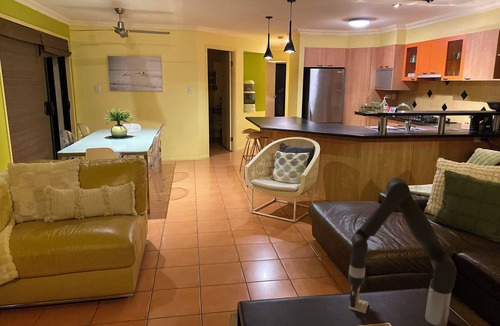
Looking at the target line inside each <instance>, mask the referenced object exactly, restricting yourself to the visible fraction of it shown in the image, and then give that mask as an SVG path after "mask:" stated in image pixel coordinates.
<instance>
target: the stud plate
mask: <svg viewBox="0 0 500 326" xmlns="http://www.w3.org/2000/svg"><path fill="white" fill-rule="evenodd" d="M368 305H369V302H368V301H366V300H363V299H362V300H361V299H359V304H358V307H357V308H353V307H351V306H349V305H348V310H353V311H357V312H359V313H363V314H366V313H367V309H368Z"/></svg>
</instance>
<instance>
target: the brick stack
mask: <svg viewBox="0 0 500 326" xmlns="http://www.w3.org/2000/svg"><path fill="white" fill-rule="evenodd" d="M360 295H361V294H360V292H359V293H358V296H357V297H356V303H355V308H357V307H358V304H359V300H360ZM350 304H351V301H350V300H349V302H348V307H349V306H350Z"/></svg>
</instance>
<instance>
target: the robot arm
mask: <svg viewBox="0 0 500 326" xmlns="http://www.w3.org/2000/svg"><path fill="white" fill-rule="evenodd" d="M386 192H387V194H386V196H385V197H384V200H383V201H382V203H380V205H379V206H378V207H377V208H376V209H375V210H373V212H371V213H370V214H369V216H368V217H367V218H366V220H365V221H364V223H363V224H362V226H360V227H359V228H358V229H357V230H356V231H355V232H354V234H353V235H352V236H351V237H352V238H351V245H352V247H351V248H352V251H351V255H350V260H349V261H350V262H349V267H348V282H349V283H350V284H351V286H350V291H349V294H350V295H349V301H351V304H350V306H351V307H353V308H355V303H356V297H357V296H358V293H360V290H361V286H363V285H364V283H365V276H366V257H367V254H368V249H369V247H368V246H369V245H368V240H369V238H371V237H374V236H375V235H376V234H377V233H378V232H379V230H380V229H381V227H382V226H383V225H384V223H386V220H388V218H389V217H390V216H391V215H392V214H393V213H394V211H395V210H396V209H397V208H399V209H400V211H401V212H400V213H401V214H402V217H403V218H404V221H405V224H406V225H407V227H408V229H409V230H410V232H411V234H412V236H413V237H414V239H415V240H416V241H417V242H418V243H419V245H421V246H422V248H423V249H424V251H425V252H426V254H427V256H428V258H429V259H428V260H429V261H430V264H431V266H432V268H433V275H432V278H431V280H430V281H429V287H428V294H427V301H426V307H425V315H424V319H425V320H426V321H427V323H429V324H430V325H433V326H448V319H449V314H450V302H451V297H452V292H453V289H454V287H455V283H456V279H457V271H458V270H457V266H456V265H455V264H456V263H455V262H454V260H453V258H452V257H451V256H450V255H449V253H448V252H447V251H446V250H445V249H444V247H443V246H442V244H441V242H440V240H439V238H438V236H437V234H436V231H435V229H434V227H433V225H432V223H431V222H430V220H429V218H428V217H427V215H425V213H424V211H423V210H422V209H421V207H419V205H418V204H417V202H416V201H415V200H414V197H413V196H412V193H411V190H410V187H409V185H408V183H407V182H406V181H405V180H404V179H403V178H399V177H392V178H390V179H389V180H388V182H387V184H386Z"/></svg>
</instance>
